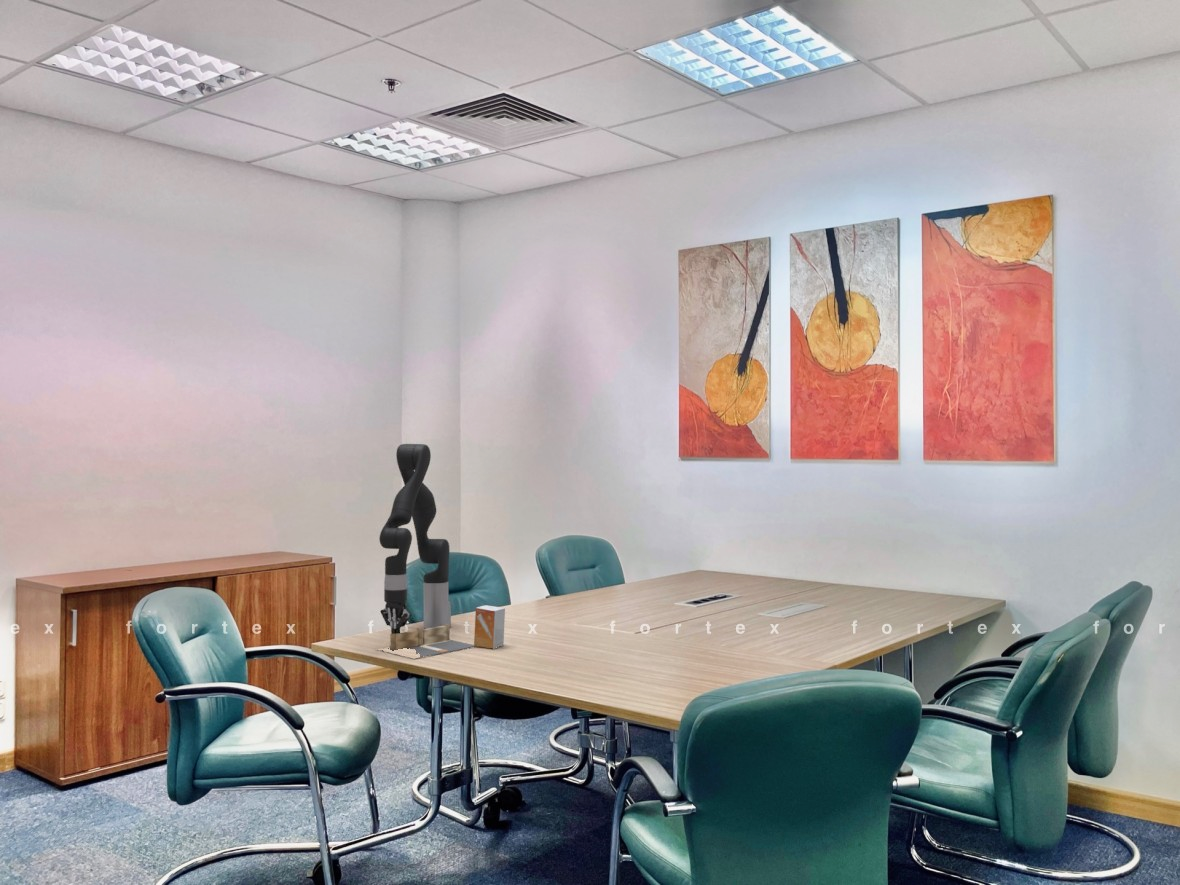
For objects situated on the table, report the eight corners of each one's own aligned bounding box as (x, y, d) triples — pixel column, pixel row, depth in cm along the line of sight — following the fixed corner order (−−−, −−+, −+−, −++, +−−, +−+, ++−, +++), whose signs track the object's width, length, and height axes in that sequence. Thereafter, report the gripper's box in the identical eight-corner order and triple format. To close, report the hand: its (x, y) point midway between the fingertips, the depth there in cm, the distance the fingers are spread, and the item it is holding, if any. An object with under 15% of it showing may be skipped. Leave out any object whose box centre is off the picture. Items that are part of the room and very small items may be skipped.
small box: (473, 645, 329) (475, 607, 329) (484, 642, 335) (486, 604, 334) (493, 649, 325) (494, 610, 325) (504, 645, 331) (505, 607, 330)
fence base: (447, 639, 340) (447, 623, 340) (450, 640, 338) (450, 623, 338) (415, 645, 330) (415, 628, 330) (419, 646, 329) (419, 629, 329)
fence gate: (415, 644, 330) (415, 629, 330) (418, 645, 329) (418, 630, 329) (389, 650, 322) (389, 634, 322) (392, 650, 320) (392, 634, 320)
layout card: (439, 638, 344) (439, 636, 344) (477, 646, 329) (477, 645, 329) (376, 650, 325) (376, 648, 325) (413, 659, 311) (413, 657, 311)
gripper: (417, 587, 325) (417, 639, 325) (390, 584, 332) (390, 634, 333) (401, 590, 319) (401, 643, 319) (373, 586, 326) (373, 638, 327)
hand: (395, 639), depth 326 cm, fingers closed
